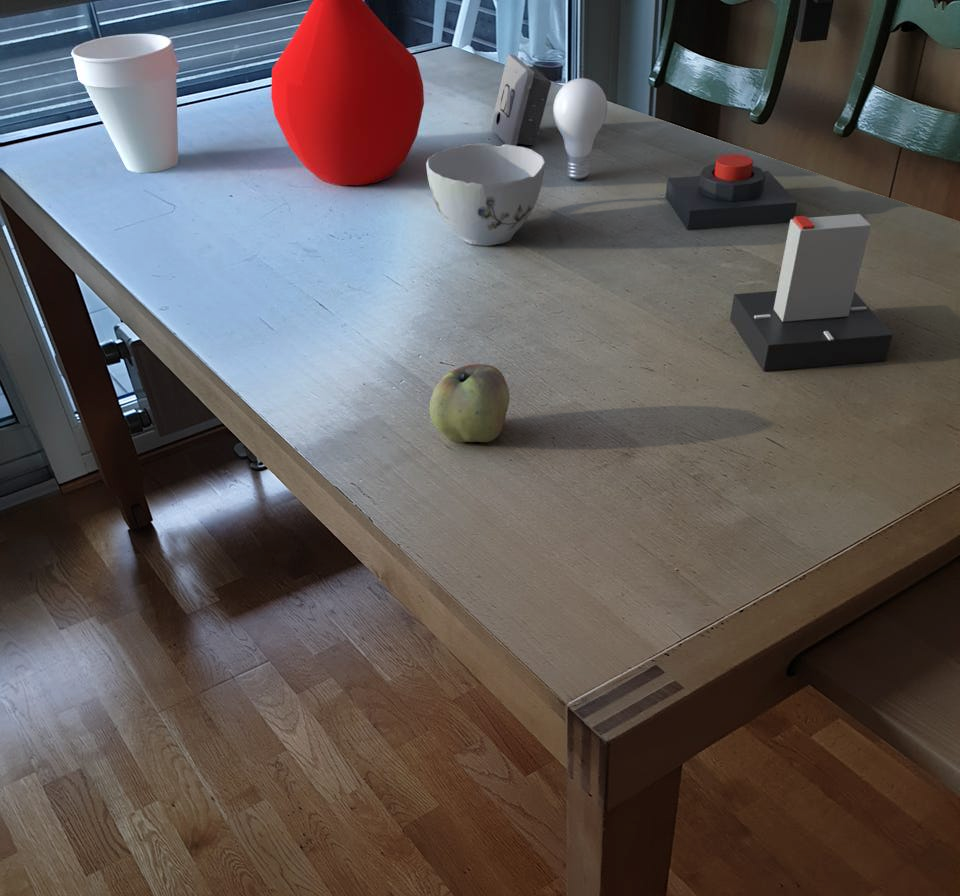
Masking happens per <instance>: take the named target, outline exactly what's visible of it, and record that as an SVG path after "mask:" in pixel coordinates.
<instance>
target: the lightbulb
mask: <svg viewBox="0 0 960 896" xmlns="http://www.w3.org/2000/svg"><path fill="white" fill-rule="evenodd" d="M607 115H608V100H607V97H606V94H605V92H604V90H603V88H602V87H601V86H600V84H598V83H597V82H596V81H594V80H592V79H590V78H586V77H585V78H584V77H578V78H574V79H571V80H568V81H567V82H566V83H564V84H563V86H561V87H560V88H559V90H558V91H557V93H556V94H555V97H554V100H553V105H552V116H553V120H554V123H555V125H556V128H557V130H558V131H559V133H560V135H561V137H562V139H563V144H564V149H565V152H566V157H567V158H566V160H567V161H566V163H567V165H566V167H567V169H566V171H567V172H566V176H568V177H569V178H570V179H572V180H574V181H581V180H583V179H584V178H586V177H587V176H589V174H590V170H589V169H590V167H589V166H590V154H591V152H592V150H593V147H594V142H595V139H596V137H597V135H598V133H599V132H600V131H601V129H602V128H603V126H604V123H605V121H606V118H607Z"/></svg>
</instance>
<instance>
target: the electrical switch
mask: <svg viewBox="0 0 960 896" xmlns="http://www.w3.org/2000/svg"><path fill="white" fill-rule="evenodd" d="M551 85H552V81H551V80H550V79H548V78H547V77H546V76H545V75H544V73H542V72H541V71H539V70H538V69H537V68H536V67H535V66H531V65H527V64H525V62H523V61H522V60H521V59H520V58H519V57H518V56H516V54H508V55H507V57H506V60H505V63H504V68H503V71H502V77H501V80H500V85H499V89H498V94H497V98H496V101H495V106H494V107H495V108H494V111H493V116H492V120H491V130H492V131H493V132H494V133H495V135H496V136H497V137H498V138H499V139H500V140H501V142H503V144H504V145H505V144H507V145H514V146H518V145H517V144H520V145H527V146H533V147H535V146H536V143H537V139H538V137H539V136H538V135H539V132H540V128H541V124H542V119H543V116H544V112H545V109H546V106H547V105H546V104H547V101H548V98H549V93H550V90H551Z"/></svg>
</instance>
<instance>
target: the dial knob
mask: <svg viewBox="0 0 960 896" xmlns="http://www.w3.org/2000/svg"><path fill="white" fill-rule="evenodd" d="M871 227H872V225H871V224H870V222H868V220H867V219H865V218H864V216H863V215H861V214H860V213H851V214H840V215H826V216H814V217H807V215H798V216H797V215H795V217H794V219H791V220H790V223H789V226H788V231H787V236H786V242H785V247H784V251H783V257H782V262H781V268H780V273H779V279H778V284H777V289H776V291H777V294H776V299H775V304H774V311H775V312H776V313H777V315H778V316H779V317H780V319H781V320H782V322H786V321H798V320H810V319H822V318H834V317H846V316H849V312H850V308H851V304H852V300H853V296H854V292H856V287H857V283H858V280H859V275H860V271H861V267H862V262H863V259H864V255H865V251H866V247H867V243H868V240H869V239H868V238H869V236H870V235H869V234H870V230H871Z"/></svg>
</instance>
